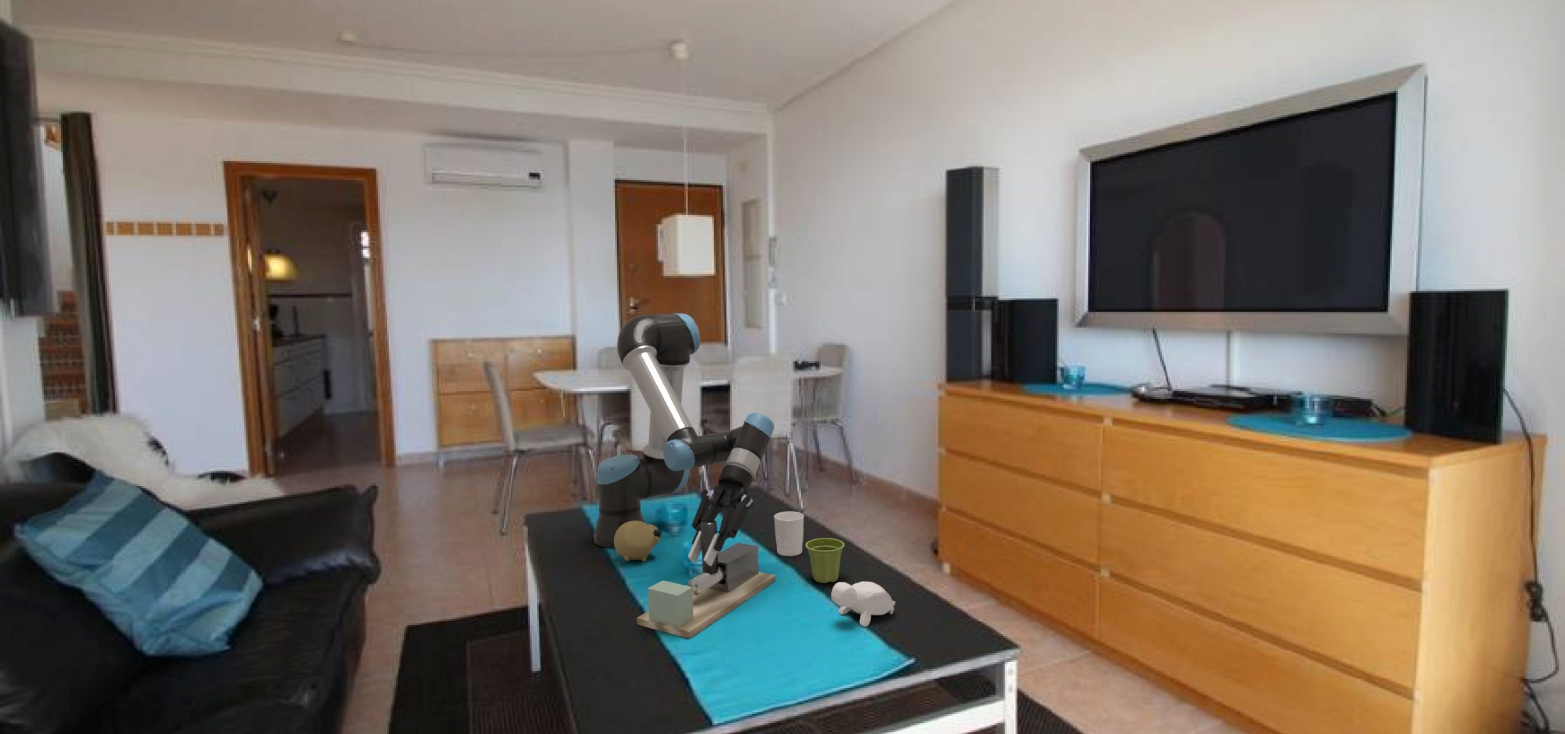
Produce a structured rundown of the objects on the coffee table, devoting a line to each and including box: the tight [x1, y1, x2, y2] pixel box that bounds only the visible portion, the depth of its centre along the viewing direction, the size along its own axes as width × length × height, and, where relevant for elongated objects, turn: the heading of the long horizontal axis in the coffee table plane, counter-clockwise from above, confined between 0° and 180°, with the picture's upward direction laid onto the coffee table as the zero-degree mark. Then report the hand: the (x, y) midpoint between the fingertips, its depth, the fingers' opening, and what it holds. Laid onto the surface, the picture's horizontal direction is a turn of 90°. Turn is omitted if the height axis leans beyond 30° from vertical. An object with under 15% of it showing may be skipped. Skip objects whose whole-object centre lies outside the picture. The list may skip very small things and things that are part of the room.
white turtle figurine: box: [830, 581, 896, 628], centre depth 164 cm, size 9×8×15 cm
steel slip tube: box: [687, 519, 726, 595], centre depth 177 cm, size 4×21×15 cm, turn 149°
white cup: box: [773, 511, 805, 557], centre depth 204 cm, size 8×8×10 cm
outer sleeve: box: [710, 542, 760, 593], centre depth 182 cm, size 6×13×7 cm, turn 149°
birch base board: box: [636, 571, 776, 640], centre depth 174 cm, size 14×34×2 cm, turn 149°
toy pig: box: [614, 521, 662, 563], centre depth 201 cm, size 10×12×11 cm
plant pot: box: [805, 537, 845, 584], centre depth 185 cm, size 9×9×9 cm
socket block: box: [647, 580, 694, 628], centre depth 161 cm, size 8×5×7 cm, turn 59°
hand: (699, 561), depth 170 cm, fingers closed on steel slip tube, 4 cm apart
